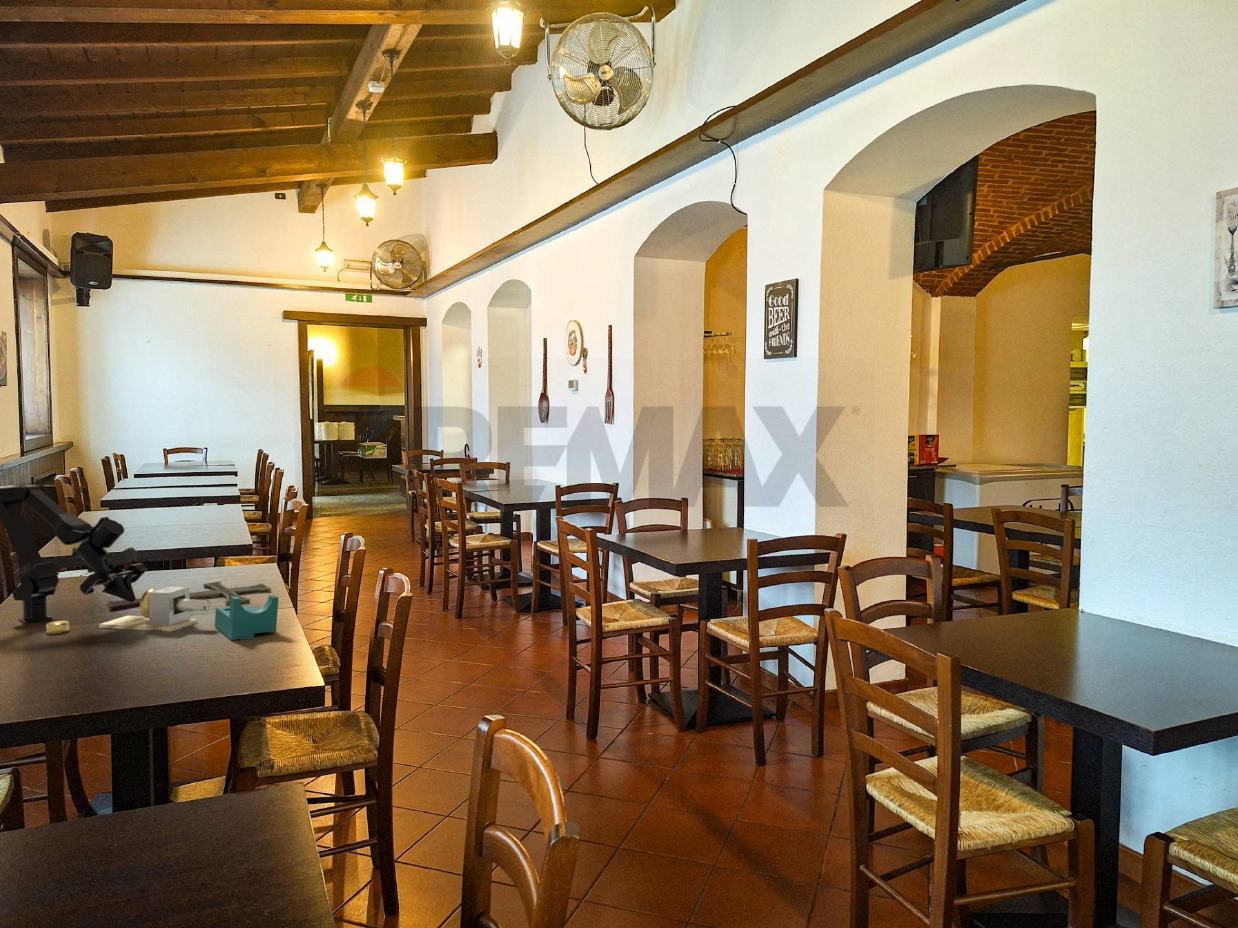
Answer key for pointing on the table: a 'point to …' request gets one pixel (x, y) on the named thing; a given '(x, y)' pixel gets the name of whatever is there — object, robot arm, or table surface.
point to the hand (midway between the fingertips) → (134, 601)
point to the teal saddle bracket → (246, 618)
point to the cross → (203, 595)
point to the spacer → (57, 627)
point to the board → (142, 624)
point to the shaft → (176, 604)
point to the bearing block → (167, 606)
